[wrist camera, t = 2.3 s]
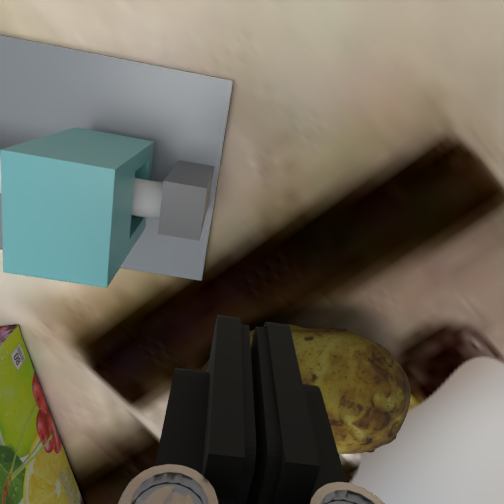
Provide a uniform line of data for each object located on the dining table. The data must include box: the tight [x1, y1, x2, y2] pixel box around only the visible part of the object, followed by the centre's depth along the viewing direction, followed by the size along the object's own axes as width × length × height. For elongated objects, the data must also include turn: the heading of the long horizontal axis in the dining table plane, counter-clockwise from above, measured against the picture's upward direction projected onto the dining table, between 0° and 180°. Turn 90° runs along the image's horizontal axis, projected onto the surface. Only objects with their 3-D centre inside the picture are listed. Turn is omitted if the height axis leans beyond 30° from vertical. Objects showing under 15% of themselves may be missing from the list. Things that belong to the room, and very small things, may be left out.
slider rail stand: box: [0, 35, 233, 281], centre depth 23 cm, size 22×12×7 cm, turn 80°
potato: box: [200, 324, 411, 454], centre depth 28 cm, size 8×13×8 cm, turn 83°
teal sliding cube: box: [0, 127, 154, 288], centre depth 20 cm, size 4×5×8 cm
